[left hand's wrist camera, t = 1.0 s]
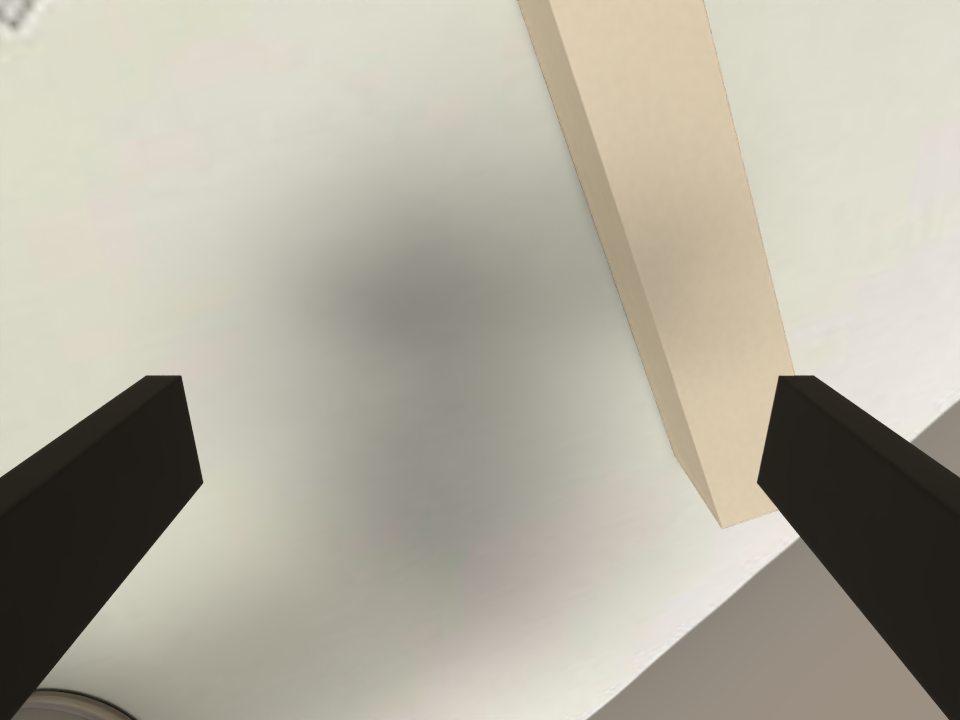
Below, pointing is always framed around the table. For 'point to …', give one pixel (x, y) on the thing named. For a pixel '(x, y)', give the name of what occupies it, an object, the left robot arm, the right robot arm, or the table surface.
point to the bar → (673, 225)
